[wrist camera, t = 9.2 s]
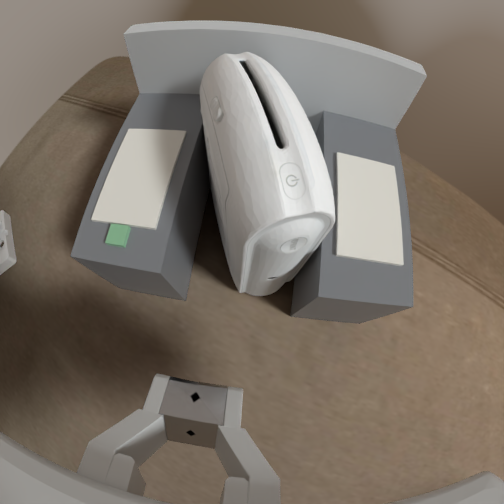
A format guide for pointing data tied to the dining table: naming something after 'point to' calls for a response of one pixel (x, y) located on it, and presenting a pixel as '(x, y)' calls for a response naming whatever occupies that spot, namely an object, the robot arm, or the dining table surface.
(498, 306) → the dining table surface
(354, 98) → the module bay
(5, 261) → the security camera
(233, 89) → the photo printer
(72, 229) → the dining table surface
